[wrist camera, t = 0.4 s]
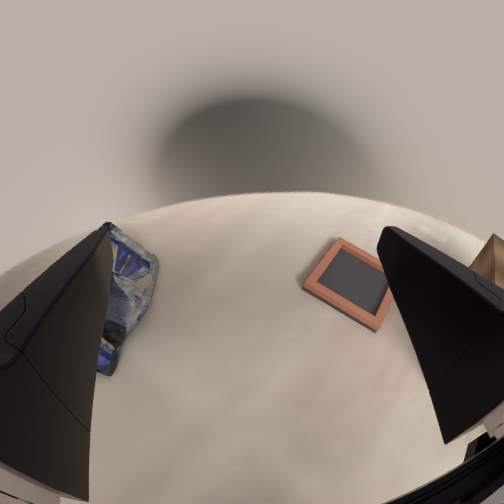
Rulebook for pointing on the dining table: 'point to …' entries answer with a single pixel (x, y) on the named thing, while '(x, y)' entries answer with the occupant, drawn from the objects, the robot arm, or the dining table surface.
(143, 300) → the snack package
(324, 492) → the dining table surface
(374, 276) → the tile
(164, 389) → the dining table surface
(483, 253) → the walnut brick
